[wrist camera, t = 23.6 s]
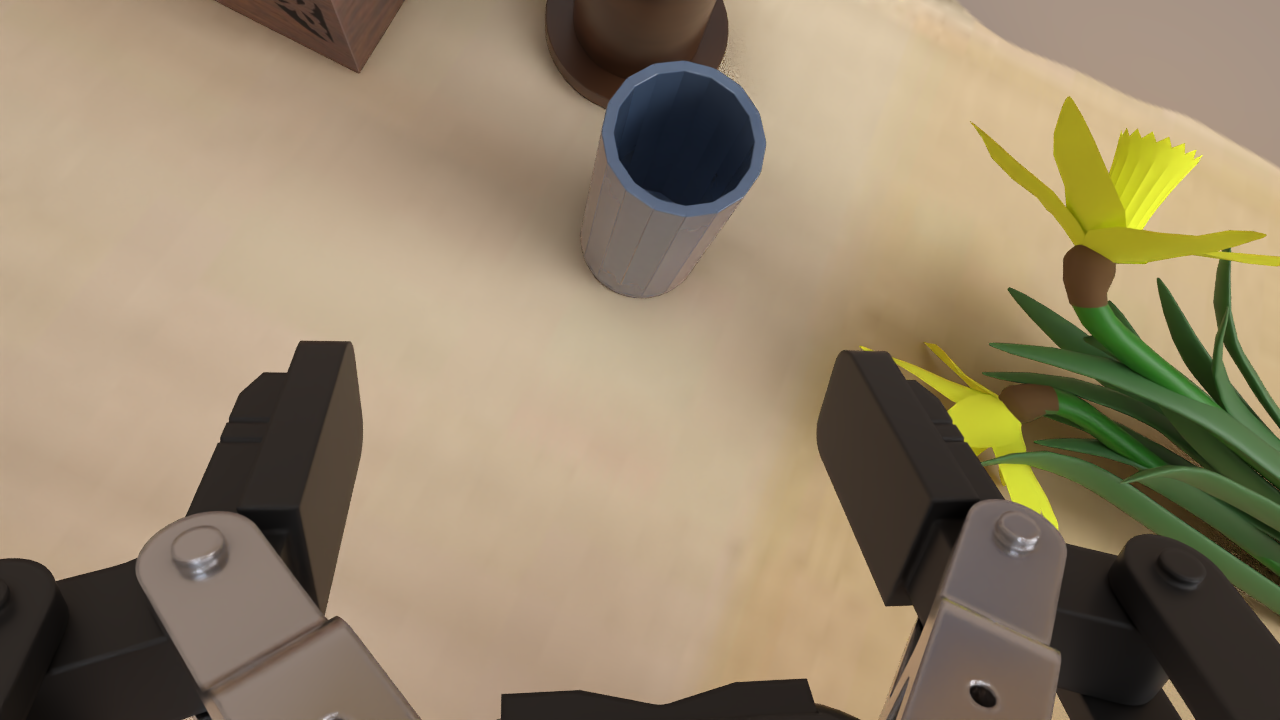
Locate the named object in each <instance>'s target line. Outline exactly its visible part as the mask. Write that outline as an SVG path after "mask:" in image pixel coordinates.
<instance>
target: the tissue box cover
mask: <svg viewBox="0 0 1280 720" xmlns="http://www.w3.org/2000/svg"><path fill="white" fill-rule="evenodd" d="M215 1H217V2H219V3H221V4H223V5H225V6H227V7H229V8H231V9H233V10H235V11H237V12H239V13H241V14H243V15H245V16H247V17H249V18H250V19H252V20H254V21H256V22H258V23H260V24H262V25H264V26H266V27H268V28H270V29H272V30H274V31H276V32H278V33H280V34H282V35H284V36H286V37H288V38H290V39H292V40H294V41H296V42H298V43H300V44H302V45H304V46H306V47H308V48H310V49H312V50H314V51H316V52H318V53H320V54H322V55H324V56H326V57H328V58H329V59H331V60H333V61H335V62H337V63H339V64H341V65H343V66H345V67H347V68H349V69H351V70H353V71H355V72H357V73H360V71H361V69H362V68H363V66H364V65H365V63H366V61H367V60H368V58H369V56H370V55H371V53H372V52H373V50H374V48H375V47H376V45H377V44H378V42H379V40H380V39H381V37H382V36H383V34H384V32H385V31H386V29H387V28H388V26H389V24H390V23H391V21H392V19H393V18H394V16H395V15H396V13H397V11H398V10H399V8H400V7H401V5H402V3H403V2H404V0H215Z"/></svg>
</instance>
